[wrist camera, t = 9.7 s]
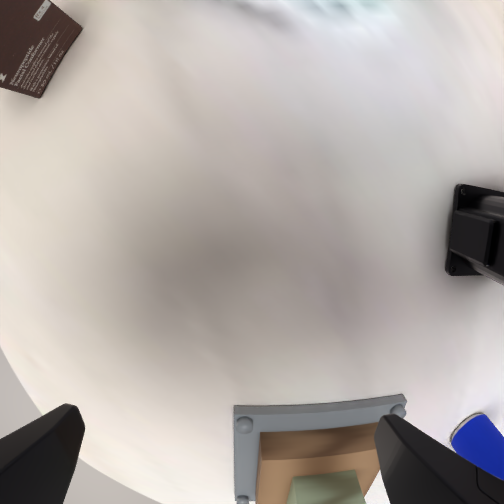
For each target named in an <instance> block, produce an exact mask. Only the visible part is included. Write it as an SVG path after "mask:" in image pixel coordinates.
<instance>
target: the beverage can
mask: <svg viewBox="0 0 504 504" xmlns="http://www.w3.org/2000/svg"><path fill="white" fill-rule="evenodd" d="M451 445H452V447H453V448H454V450H455V451H456V453H457V454H458V455H460V456H462V457H463V458H465V459H466V460H468V461H470V462H471V463H473V464H475V465H476V466H477V467H480V468H482V469H483V470H485V471H487V472H488V473H490V474H492V475H494V476H496V477H498V478H500V479H502V480H504V437H503V436H502V434H501V433H500V432H499V431H498V429H497V428H496V427H495V426H494V424H493V423H492V422H491V421H490V420H489V418H488V417H487V416H486V415H485V414H475V415H473V416H471V417H469V418H467V419H466V420H465V421H464V422H462V423H461V424H460V425H459V426H458V428H457V429H456V430H455V432H454V433H453V436H452V441H451Z"/></svg>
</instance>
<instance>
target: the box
mask: <svg viewBox="0 0 504 504" xmlns="http://www.w3.org/2000/svg"><path fill="white" fill-rule="evenodd" d="M81 30H82V27H81V26H80V25H79V24H78V23H76V22H75V21H74V20H73V19H72V18H71V17H69V16H68V15H67V14H66V13H64V12H63V11H62V10H61V9H60V8H59V7H57V6H56V5H55V4H54V3H52V2H51V1H50V0H0V87H1V88H5V89H9V90H12V91H16V92H19V93H23V94H26V95H29V96H32V97H36V98H40V97H41V95H42V92H43V91H44V89H45V87H46V85H47V83H48V81H49V79H50V77H51V76H52V74H53V72H54V70H55V69H56V67H57V65H58V64H59V62H60V61H61V59H62V57H63V55H64V54H65V52H66V51H67V49H68V48H69V46H70V45H71V44H72V42H73V41H74V39H75V38H76V37H77V35H78V34H79V33H80V31H81Z"/></svg>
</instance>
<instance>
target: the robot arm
mask: <svg viewBox="0 0 504 504" xmlns="http://www.w3.org/2000/svg"><path fill="white" fill-rule="evenodd" d="M461 189H463V193H461ZM452 267H453V269H452V270H451V268H452ZM446 272H447V273H448V274H449V275H451V276H468V275H485V276H487V277H489V278H491V279H493V280H494V281H496V282H498V283H500V284H502V285H504V192H499V191H495V190H490V189H486V188H481V187H476V186H471V185H466V184H458V185H457V186H456V189H455V201H454V212H453V221H452V230H451V237H450V244H449V251H448V257H447V263H446ZM84 432H85V424H84V421H83V419H82V416H81V414H80V411H79V409H78V407H77V406H75V405H71V404H67V403H65V404H63V405H61V406H59V407H57V408H56V409H54V410H52V411H50V412H49V413H47V414H45V415H43V416H41V417H40V418H38V419H36V420H34V421H32V422H31V423H29V424H27V425H25V426H23V427H22V428H20V429H18V430H16V431H14V432H12V433H11V434H9V435H7V436H5V437H3V438H1V439H0V504H63V502H64V499H65V496H66V493H67V490H68V488H69V485H70V482H71V479H72V476H73V473H74V471H75V467H76V464H77V460H78V456H79V452H80V448H81V444H82V440H83V436H84ZM374 442H375V446H376V451H377V456H378V460H379V465H380V470H381V475H382V479H383V483H384V486H385V489H386V492H387V495H388V498H389V501H390V504H504V480H502V479H500V478H498V477H496V476H494V475H492V474H490V473H488V472H487V471H485V470H483V469H482V468H480V467H477V466H476V465H475V464H473V463H471V462H470V461H468V460H466V459H465V458H463V457H462V456H460V455H458V454H457V453H455V452H454V451H452V450H450V449H449V448H447V447H446V446H444V445H442V444H441V443H439V442H438V441H436V440H435V439H433V438H432V437H430V436H428V435H427V434H425V433H424V432H422V431H421V430H419V429H418V428H416V427H415V426H413V425H412V424H410V423H409V422H407V421H406V420H404V419H403V418H401V417H400V416H398V415H397V414H394V413H392V414H386V415H382V416H381V418H380V420H379V423H378V425H377V428H376V430H375V433H374Z"/></svg>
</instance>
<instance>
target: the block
mask: <svg viewBox="0 0 504 504" xmlns="http://www.w3.org/2000/svg"><path fill="white" fill-rule="evenodd" d="M286 504H366V502H365V499H364V496H363V493H362V490H361V487H360V484H359V481H358V478H357V475H356V472H355V469H354V470H348V471H341V472H334V473H326V474H317V475H307V476H295V477H293V478H292V483H291V487H290V491H289V495H288V499H287V503H286Z"/></svg>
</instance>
